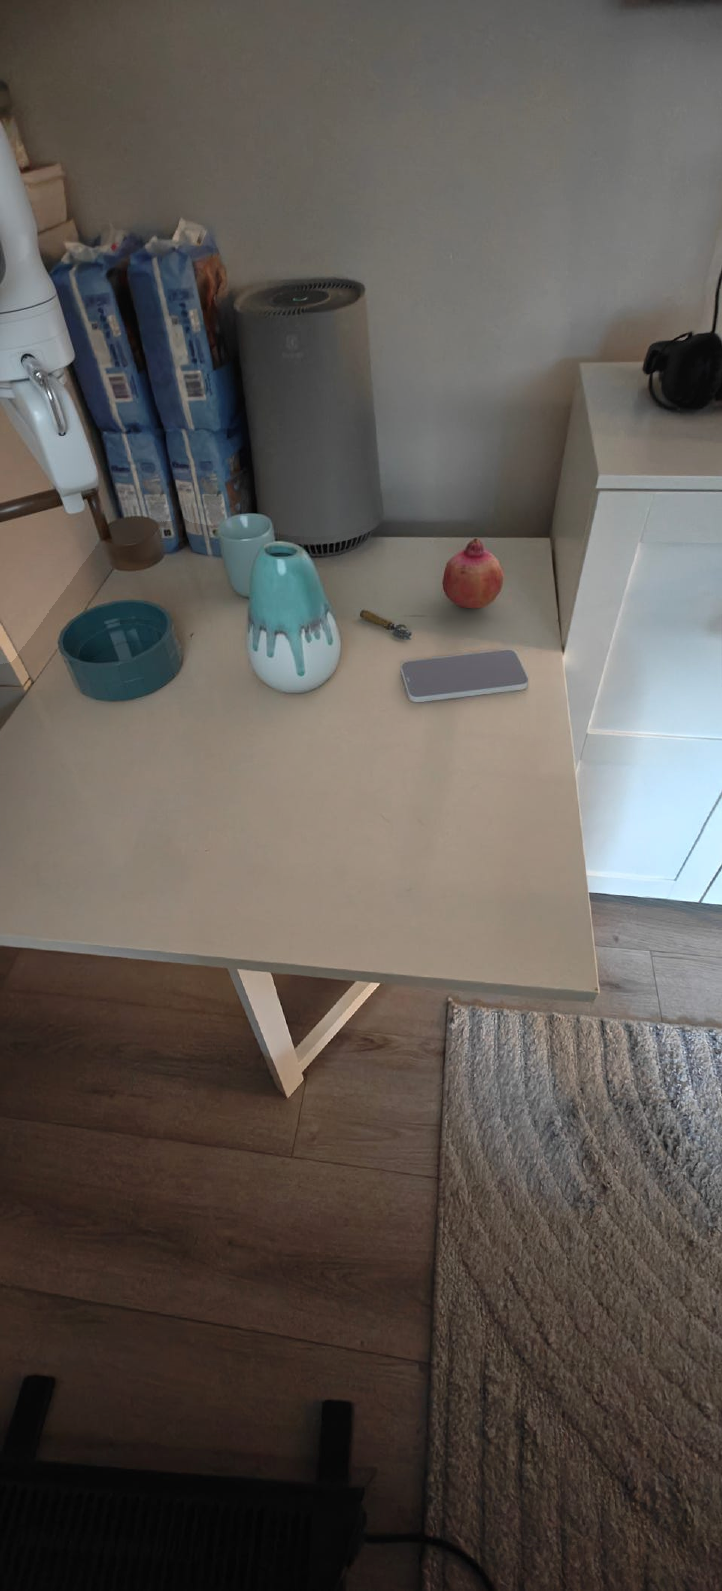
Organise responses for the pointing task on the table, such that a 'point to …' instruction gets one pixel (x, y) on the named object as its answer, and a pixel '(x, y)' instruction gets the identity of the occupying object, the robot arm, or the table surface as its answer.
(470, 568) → the fruit
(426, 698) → the smartphone
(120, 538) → the ladle
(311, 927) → the table surface
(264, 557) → the vase
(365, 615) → the can opener
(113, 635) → the bowl
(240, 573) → the cup
